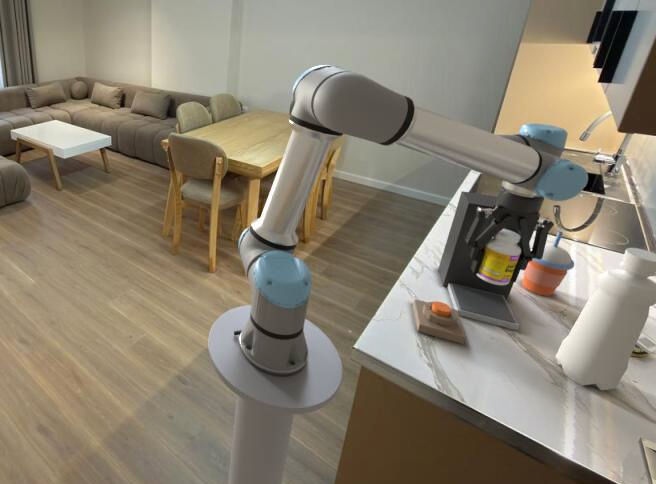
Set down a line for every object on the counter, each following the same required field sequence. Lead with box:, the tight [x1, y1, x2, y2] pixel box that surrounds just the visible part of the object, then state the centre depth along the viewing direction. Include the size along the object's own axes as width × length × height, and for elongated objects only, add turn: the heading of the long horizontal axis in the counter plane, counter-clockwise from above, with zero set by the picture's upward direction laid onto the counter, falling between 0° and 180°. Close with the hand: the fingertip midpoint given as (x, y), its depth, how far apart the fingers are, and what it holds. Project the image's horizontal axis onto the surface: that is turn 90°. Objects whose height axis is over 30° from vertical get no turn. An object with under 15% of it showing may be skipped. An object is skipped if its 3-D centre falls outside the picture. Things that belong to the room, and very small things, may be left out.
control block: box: [412, 298, 467, 345], centre depth 96 cm, size 9×10×4 cm
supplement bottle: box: [477, 229, 521, 285], centre depth 96 cm, size 7×7×13 cm
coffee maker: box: [437, 191, 541, 331], centre depth 101 cm, size 14×20×26 cm
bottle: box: [555, 247, 656, 391], centre depth 77 cm, size 9×9×30 cm
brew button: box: [431, 301, 452, 317], centre depth 95 cm, size 4×4×2 cm
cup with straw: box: [521, 230, 575, 297], centre depth 105 cm, size 9×9×18 cm
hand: (492, 274), depth 98 cm, fingers closed on supplement bottle, 7 cm apart
